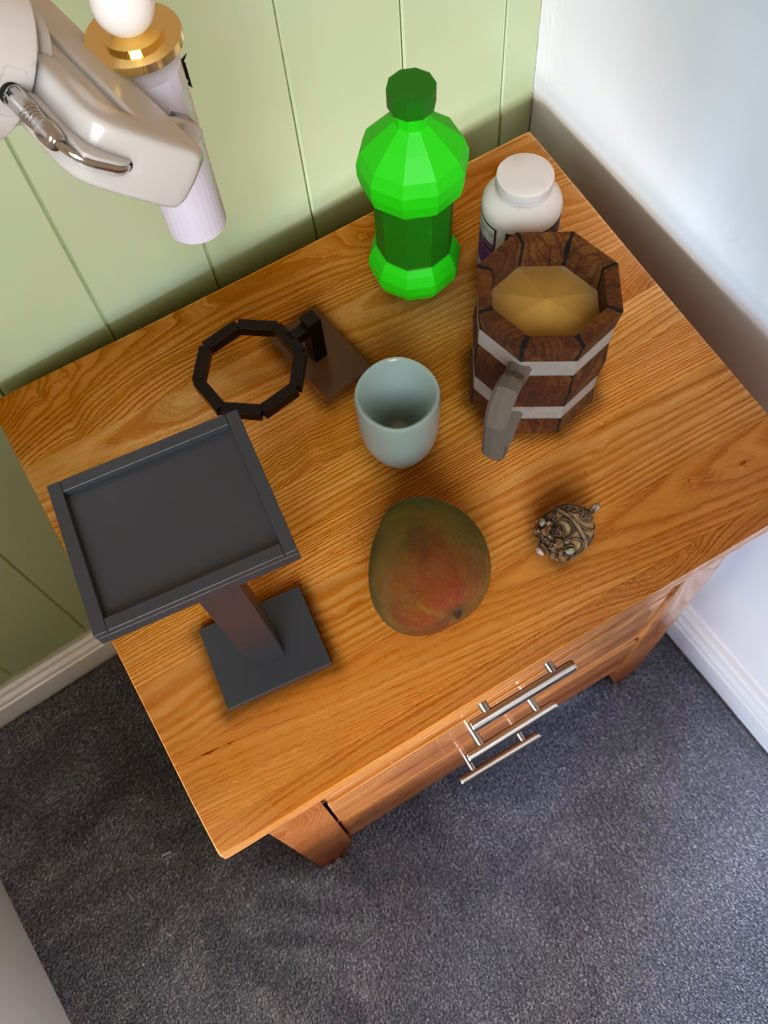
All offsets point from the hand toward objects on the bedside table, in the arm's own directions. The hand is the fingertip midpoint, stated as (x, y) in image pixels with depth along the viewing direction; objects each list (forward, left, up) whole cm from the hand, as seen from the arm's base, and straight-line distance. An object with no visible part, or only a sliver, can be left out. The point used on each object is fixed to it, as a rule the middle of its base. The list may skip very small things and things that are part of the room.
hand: (167, 110), depth 54 cm
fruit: (+6, -25, -36) cm, 45 cm away
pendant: (+20, -27, -36) cm, 50 cm away
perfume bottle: (-1, 0, -11) cm, 11 cm away
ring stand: (+2, +1, -36) cm, 36 cm away
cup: (+10, -11, -36) cm, 39 cm away
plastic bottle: (+20, +7, -36) cm, 42 cm away
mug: (+23, -12, -36) cm, 45 cm away
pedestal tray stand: (-10, -25, -36) cm, 45 cm away
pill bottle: (+30, +3, -36) cm, 47 cm away
